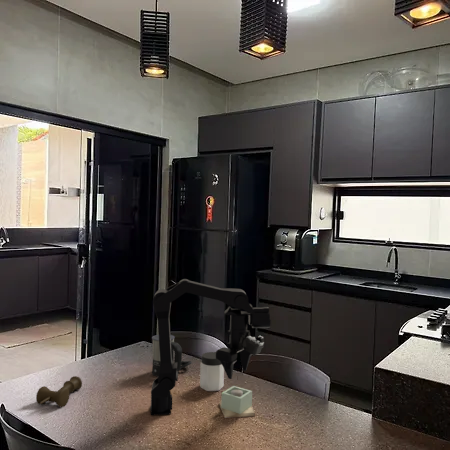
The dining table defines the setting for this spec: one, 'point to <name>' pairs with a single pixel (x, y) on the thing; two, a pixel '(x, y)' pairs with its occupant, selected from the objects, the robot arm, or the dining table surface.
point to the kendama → (59, 392)
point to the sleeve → (236, 400)
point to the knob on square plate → (233, 414)
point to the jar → (211, 372)
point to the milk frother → (174, 349)
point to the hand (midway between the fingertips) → (237, 374)
